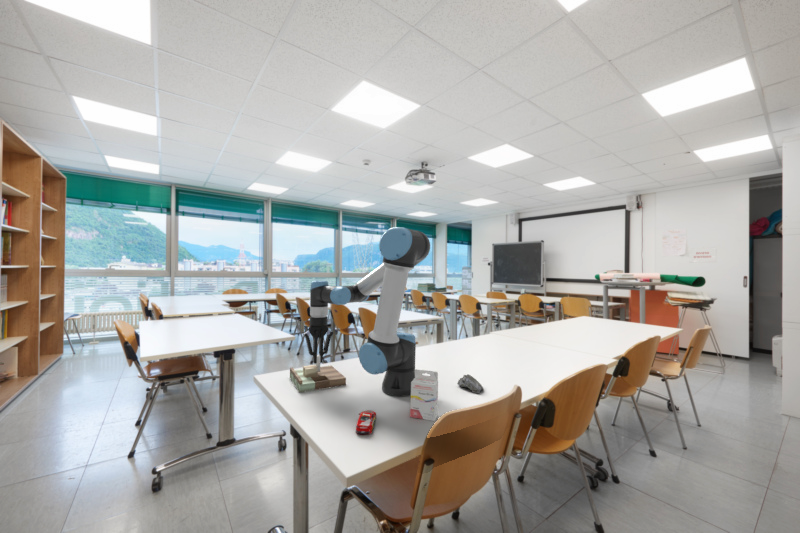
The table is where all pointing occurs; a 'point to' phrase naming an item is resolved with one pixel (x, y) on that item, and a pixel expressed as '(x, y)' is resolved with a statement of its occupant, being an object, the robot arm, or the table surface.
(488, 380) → the table surface
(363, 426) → the race car
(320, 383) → the multicoloured piece
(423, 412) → the ink cartridge box
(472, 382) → the fossilized seashell
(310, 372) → the birch block
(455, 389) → the table surface
